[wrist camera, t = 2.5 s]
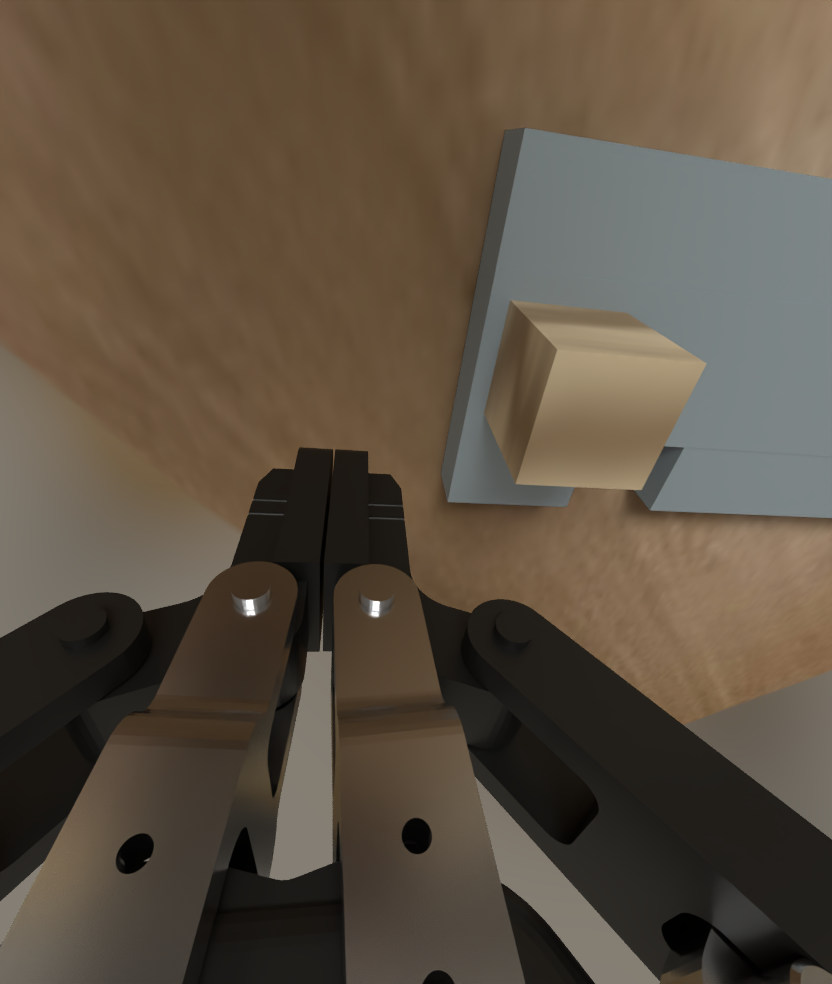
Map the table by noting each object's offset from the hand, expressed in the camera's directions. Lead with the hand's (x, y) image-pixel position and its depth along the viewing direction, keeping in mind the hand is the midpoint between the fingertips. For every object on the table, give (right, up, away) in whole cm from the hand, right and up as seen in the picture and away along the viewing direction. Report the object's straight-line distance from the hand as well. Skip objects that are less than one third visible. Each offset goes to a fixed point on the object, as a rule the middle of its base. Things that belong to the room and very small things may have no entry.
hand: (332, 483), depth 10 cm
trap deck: (+18, +6, +11) cm, 22 cm away
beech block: (+7, +5, +7) cm, 11 cm away
